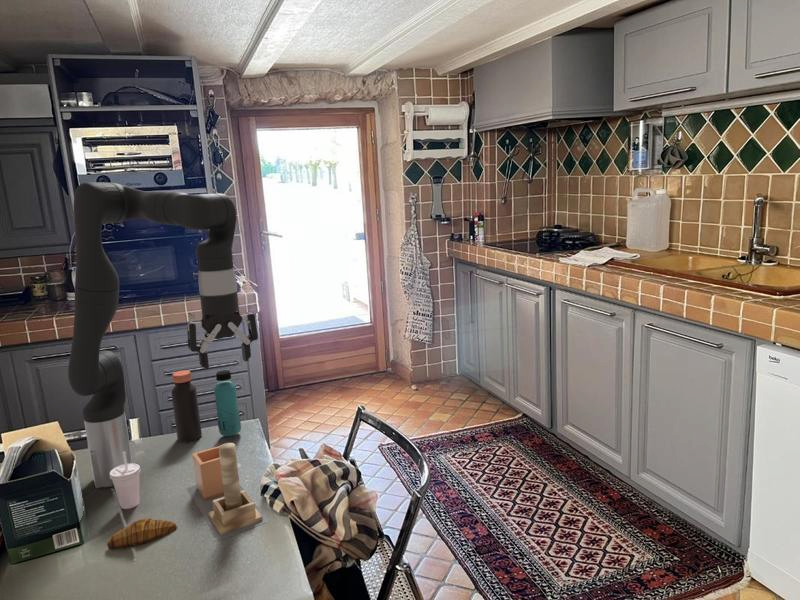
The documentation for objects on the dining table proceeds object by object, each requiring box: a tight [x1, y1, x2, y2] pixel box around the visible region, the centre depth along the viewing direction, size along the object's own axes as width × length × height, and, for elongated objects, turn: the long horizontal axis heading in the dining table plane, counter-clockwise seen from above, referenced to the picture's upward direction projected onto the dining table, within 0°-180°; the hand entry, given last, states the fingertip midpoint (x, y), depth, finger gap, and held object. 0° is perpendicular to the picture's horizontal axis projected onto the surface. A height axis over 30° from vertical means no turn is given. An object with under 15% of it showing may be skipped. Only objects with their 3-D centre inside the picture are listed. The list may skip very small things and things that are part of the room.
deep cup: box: [191, 445, 224, 500], centre depth 137 cm, size 7×7×9 cm
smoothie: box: [110, 452, 141, 510], centre depth 133 cm, size 6×6×14 cm
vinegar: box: [170, 370, 203, 443], centre depth 169 cm, size 7×7×20 cm
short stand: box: [208, 489, 262, 535], centre depth 126 cm, size 9×9×4 cm
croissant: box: [106, 517, 178, 550], centre depth 121 cm, size 14×7×5 cm, turn 113°
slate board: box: [186, 484, 270, 542], centre depth 132 cm, size 11×26×1 cm, turn 33°
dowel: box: [219, 442, 242, 511], centre depth 124 cm, size 3×3×16 cm
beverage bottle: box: [213, 369, 242, 437], centre depth 168 cm, size 6×7×20 cm
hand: (226, 364), depth 124 cm, fingers open, 8 cm apart
